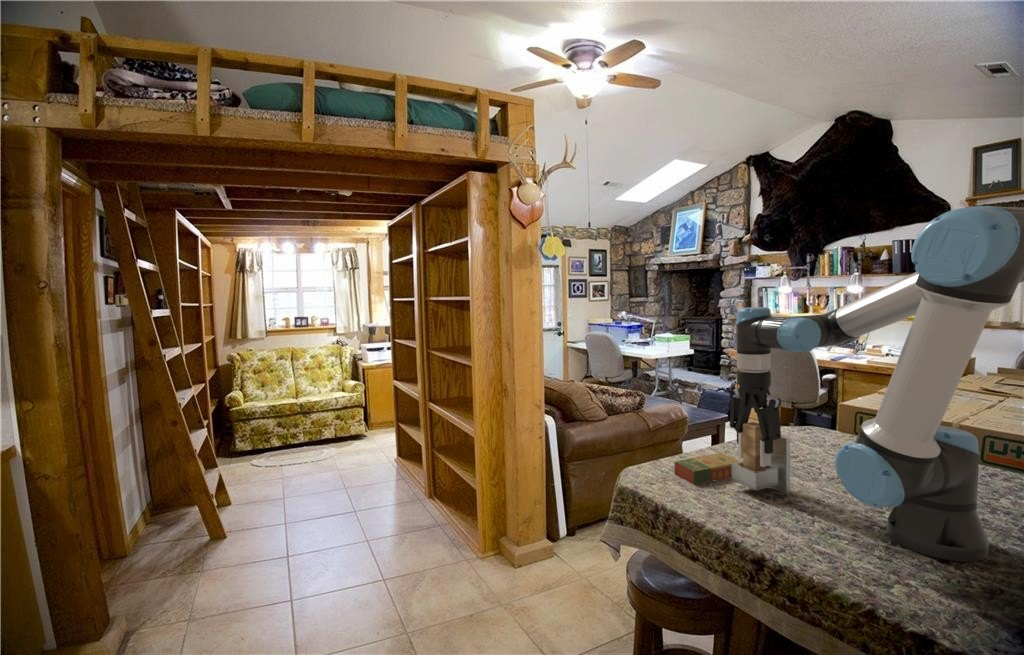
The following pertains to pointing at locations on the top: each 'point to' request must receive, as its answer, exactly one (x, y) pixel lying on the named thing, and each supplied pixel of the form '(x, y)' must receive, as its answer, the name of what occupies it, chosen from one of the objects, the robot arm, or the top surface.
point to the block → (752, 446)
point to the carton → (705, 468)
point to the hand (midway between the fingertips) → (754, 461)
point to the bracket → (768, 470)
